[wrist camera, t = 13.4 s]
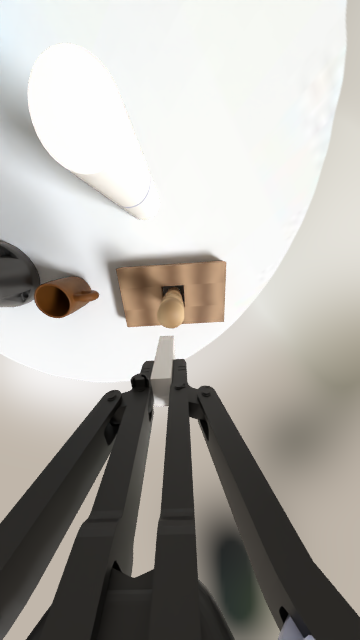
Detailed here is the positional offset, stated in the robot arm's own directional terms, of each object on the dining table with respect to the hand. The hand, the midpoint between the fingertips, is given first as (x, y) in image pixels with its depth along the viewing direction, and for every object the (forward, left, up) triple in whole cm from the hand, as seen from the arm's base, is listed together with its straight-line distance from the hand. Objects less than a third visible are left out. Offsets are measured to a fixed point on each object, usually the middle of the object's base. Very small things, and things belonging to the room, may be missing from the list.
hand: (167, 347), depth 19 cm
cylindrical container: (-5, +20, -27) cm, 34 cm away
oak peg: (0, 0, -27) cm, 27 cm away
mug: (-22, +2, -27) cm, 35 cm away
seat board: (0, 0, -27) cm, 27 cm away
